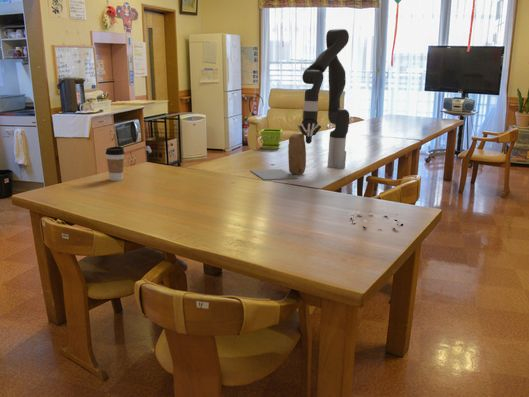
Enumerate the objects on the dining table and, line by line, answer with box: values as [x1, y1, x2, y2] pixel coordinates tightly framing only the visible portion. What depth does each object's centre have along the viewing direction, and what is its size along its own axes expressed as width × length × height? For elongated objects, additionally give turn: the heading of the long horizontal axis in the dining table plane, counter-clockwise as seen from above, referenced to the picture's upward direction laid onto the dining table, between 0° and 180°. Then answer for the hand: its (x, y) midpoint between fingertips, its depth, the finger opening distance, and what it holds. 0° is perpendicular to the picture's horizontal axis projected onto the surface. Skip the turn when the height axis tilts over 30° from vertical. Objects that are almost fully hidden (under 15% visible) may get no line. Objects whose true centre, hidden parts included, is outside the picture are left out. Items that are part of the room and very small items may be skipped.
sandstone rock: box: [287, 133, 307, 175], centre depth 254 cm, size 11×8×20 cm
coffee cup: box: [105, 146, 125, 182], centre depth 227 cm, size 8×8×15 cm
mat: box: [249, 168, 298, 181], centre depth 252 cm, size 18×22×1 cm
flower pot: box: [260, 128, 283, 150], centre depth 337 cm, size 14×14×13 cm
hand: (308, 143), depth 255 cm, fingers closed
